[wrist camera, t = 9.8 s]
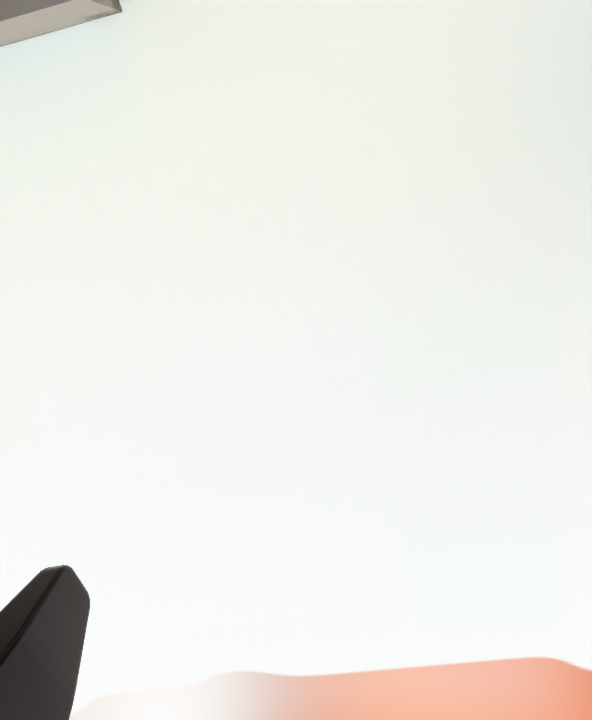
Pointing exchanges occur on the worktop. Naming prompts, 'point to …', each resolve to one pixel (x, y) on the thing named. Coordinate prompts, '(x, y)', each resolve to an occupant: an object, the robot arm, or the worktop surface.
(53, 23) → the serving bin
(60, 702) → the robot arm
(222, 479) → the worktop surface
